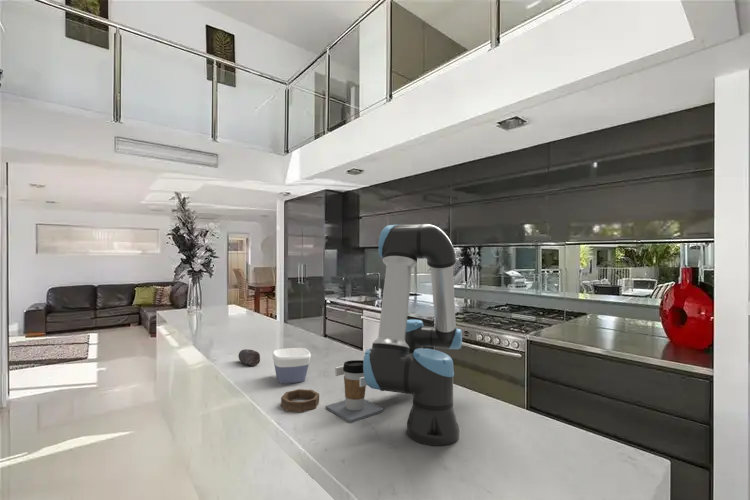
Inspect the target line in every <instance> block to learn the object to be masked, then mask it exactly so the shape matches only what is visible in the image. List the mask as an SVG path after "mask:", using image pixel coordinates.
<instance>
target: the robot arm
mask: <svg viewBox="0 0 750 500" xmlns="http://www.w3.org/2000/svg"><path fill="white" fill-rule="evenodd" d="M377 246H378V255H379V256H380V258H382V263H383V264H384V265H385V266H386V267H385V276H384V284H383V293H382V302H381V309H380V310H381V311H380V316H379V327H378V336H377V338H376V339H375V340H374V341H372V345H371V348H368V349H367V350H365V353H364V356H363V371H364V377H361V378H360V382H359V386H360V387H363V386H366V387H367V386H368V387H369V388H370V389H373V390H379V391H380V392H389V393H390V392H392V393H397V394H406V395H411V396H412V400H413V401H412V406H411V409H410V412H409V415H408V419H407V421H406V434H407V435H408V437H410V439H412V440H413V441H415V442H417V443H420V444H424V445H430V446H447V445H451V444H454V443H455V442H457V441H458V439H459V438H460V426H459V424H458V421H457V416H456V413H455V410H454V409H455V408H454V376H455V371H454V370H455V369H454V361H453V359H452V357H451V356H450V355H449V354H447V353H445V352H443V351H440V350H437V349H432V348H438V349H439V348H440V349H446V350H447V349H448V350H459V349H461V348H462V345H463V331H462V329H461V328H457V326H456V325H457V324H456V323H457V321H456V306H455V305H456V303H455V283H454V282H455V281H454V279H455V278H454V266H455V265H456V263H457V261H456V260H457V259H456V257H457V256H456V251H455V248H454V246H453V243H452V242H451V240H450V238H449V236H448V235H447V234H446V233H445V232H444V231H443V230H442V229H441V228H440V227H438V226H436V225H433V224H430V223H421V224H420V223H419V224H418V223H416V224H415V223H413V224H412V223H411V224H409V223H407V224H400V223H395V224H388V225H386V226H384V228H383V229H381V232H380V234H379V238H378V243H377ZM420 259H422V260H423V259H426V264H427V266H428V267H429V268H430V276H431V278H430V279H431V288H432V289H431V291H432V305H433V315H434V316H433V317H434V326H428V325H424V322H423V320H421V319H408V315H409V314H408V313H409V303H410V294H411V293H410V292H411V284H412V283H411V282H412V281H411V280H412V272H413V270H412V269H413V268H415V267H416V266H417V265H418V260H420ZM424 347H426V348H424ZM343 367H344V365H341V366H336V367H335V368H334V369H335V370H334V373H335V374H334V376H335V377H338V376H342V375H344V371H343Z"/></svg>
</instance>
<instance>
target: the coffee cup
mask: <svg viewBox="0 0 750 500" xmlns="http://www.w3.org/2000/svg"><path fill="white" fill-rule="evenodd" d="M363 360H364V359H363ZM363 360H359V359H358V360H357V359H353V360H346V361H345V362H343V366H344V367H343V371H344V374H343V375H344V376H343V382H344V383H343V385H344V397H345V398H344V399H345V400H346V408H347V409H348V410H352V411H357V410H361V409H363V407H364V399H365V396H366V389H367V386H363V387H360V386H359V382H360V378H361V377H364V371H363Z"/></svg>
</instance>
